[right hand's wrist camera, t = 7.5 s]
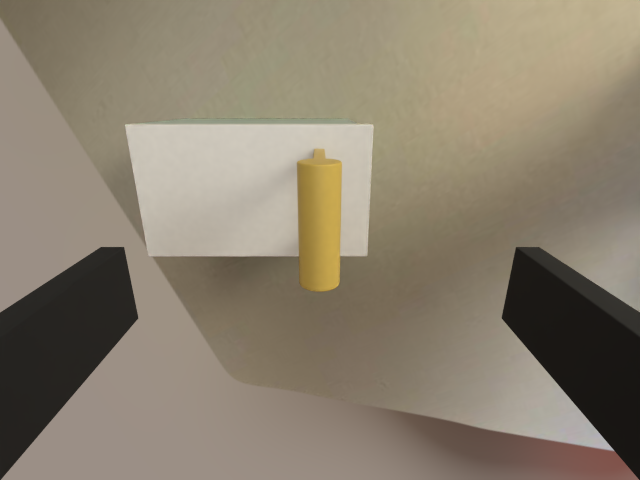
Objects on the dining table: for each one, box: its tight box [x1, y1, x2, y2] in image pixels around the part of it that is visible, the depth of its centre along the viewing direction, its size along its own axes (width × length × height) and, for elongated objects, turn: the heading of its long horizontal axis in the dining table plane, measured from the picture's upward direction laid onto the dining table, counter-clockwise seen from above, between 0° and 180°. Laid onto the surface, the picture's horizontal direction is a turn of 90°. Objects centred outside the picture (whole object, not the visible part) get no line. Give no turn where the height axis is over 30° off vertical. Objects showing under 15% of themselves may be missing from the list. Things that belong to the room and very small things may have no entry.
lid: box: [125, 124, 374, 292], centre depth 22 cm, size 16×9×9 cm, turn 90°
